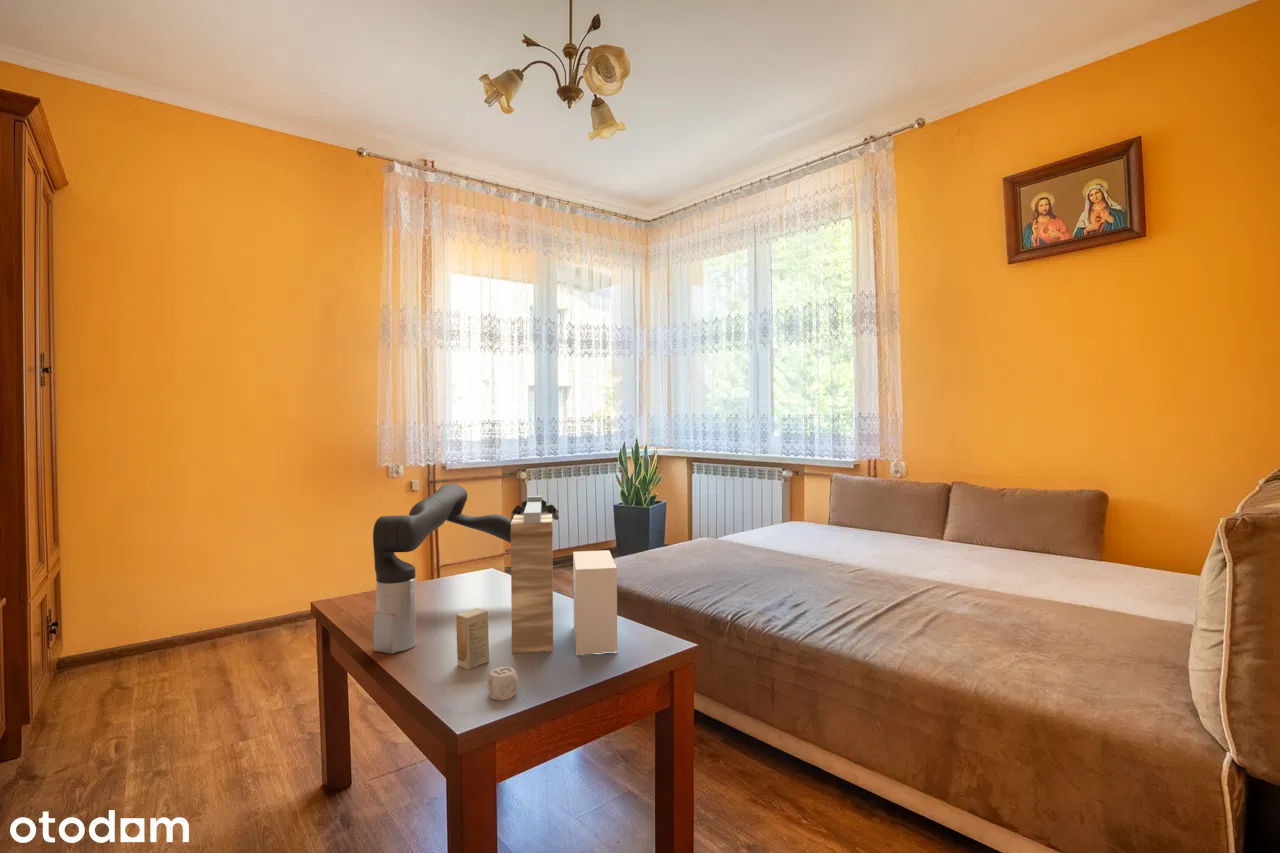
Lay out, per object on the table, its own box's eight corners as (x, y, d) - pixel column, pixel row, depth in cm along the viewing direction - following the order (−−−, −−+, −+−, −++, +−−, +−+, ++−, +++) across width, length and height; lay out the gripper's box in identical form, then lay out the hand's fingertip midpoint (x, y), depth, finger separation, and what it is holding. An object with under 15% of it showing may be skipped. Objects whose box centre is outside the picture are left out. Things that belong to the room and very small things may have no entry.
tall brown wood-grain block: (553, 651, 147) (552, 522, 147) (511, 653, 146) (510, 523, 146) (553, 631, 161) (552, 513, 161) (515, 633, 160) (514, 514, 160)
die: (486, 694, 124) (486, 670, 124) (509, 687, 127) (509, 664, 127) (495, 703, 120) (495, 678, 120) (518, 696, 123) (518, 672, 123)
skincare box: (478, 657, 144) (478, 606, 144) (489, 661, 141) (489, 610, 141) (455, 665, 139) (455, 613, 139) (466, 670, 136) (466, 617, 136)
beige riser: (617, 653, 146) (616, 567, 146) (576, 655, 144) (575, 569, 144) (609, 625, 165) (609, 550, 165) (573, 627, 164) (573, 551, 164)
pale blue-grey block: (540, 522, 147) (540, 507, 147) (523, 523, 146) (523, 508, 146) (542, 508, 171) (542, 495, 170) (527, 508, 170) (527, 495, 170)
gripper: (560, 536, 176) (560, 515, 161) (511, 537, 174) (506, 516, 159) (559, 512, 180) (560, 489, 165) (511, 513, 178) (507, 490, 163)
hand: (533, 503), depth 162 cm, fingers closed on pale blue-grey block, 4 cm apart
